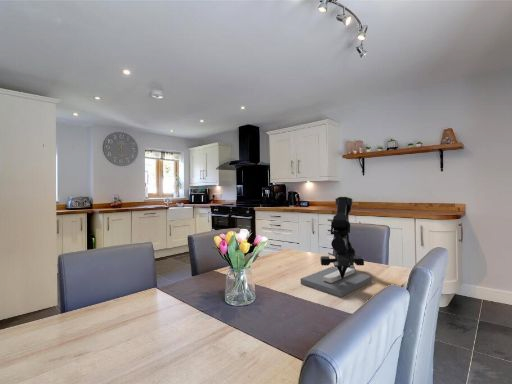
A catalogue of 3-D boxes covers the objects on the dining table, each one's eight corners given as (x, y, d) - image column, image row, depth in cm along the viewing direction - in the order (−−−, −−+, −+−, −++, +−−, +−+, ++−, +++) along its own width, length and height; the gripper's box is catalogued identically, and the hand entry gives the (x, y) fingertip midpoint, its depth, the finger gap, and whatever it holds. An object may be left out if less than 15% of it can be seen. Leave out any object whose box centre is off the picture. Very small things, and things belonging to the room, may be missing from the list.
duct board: (300, 283, 130) (300, 278, 130) (332, 271, 147) (332, 266, 147) (341, 297, 113) (341, 291, 113) (371, 281, 130) (371, 276, 130)
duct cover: (349, 269, 140) (349, 264, 140) (357, 271, 136) (357, 266, 136) (323, 280, 126) (323, 275, 125) (331, 283, 122) (331, 277, 122)
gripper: (321, 250, 119) (322, 285, 119) (366, 249, 115) (367, 286, 116) (319, 244, 130) (321, 276, 130) (360, 243, 126) (362, 277, 127)
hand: (342, 279), depth 125 cm, fingers closed
